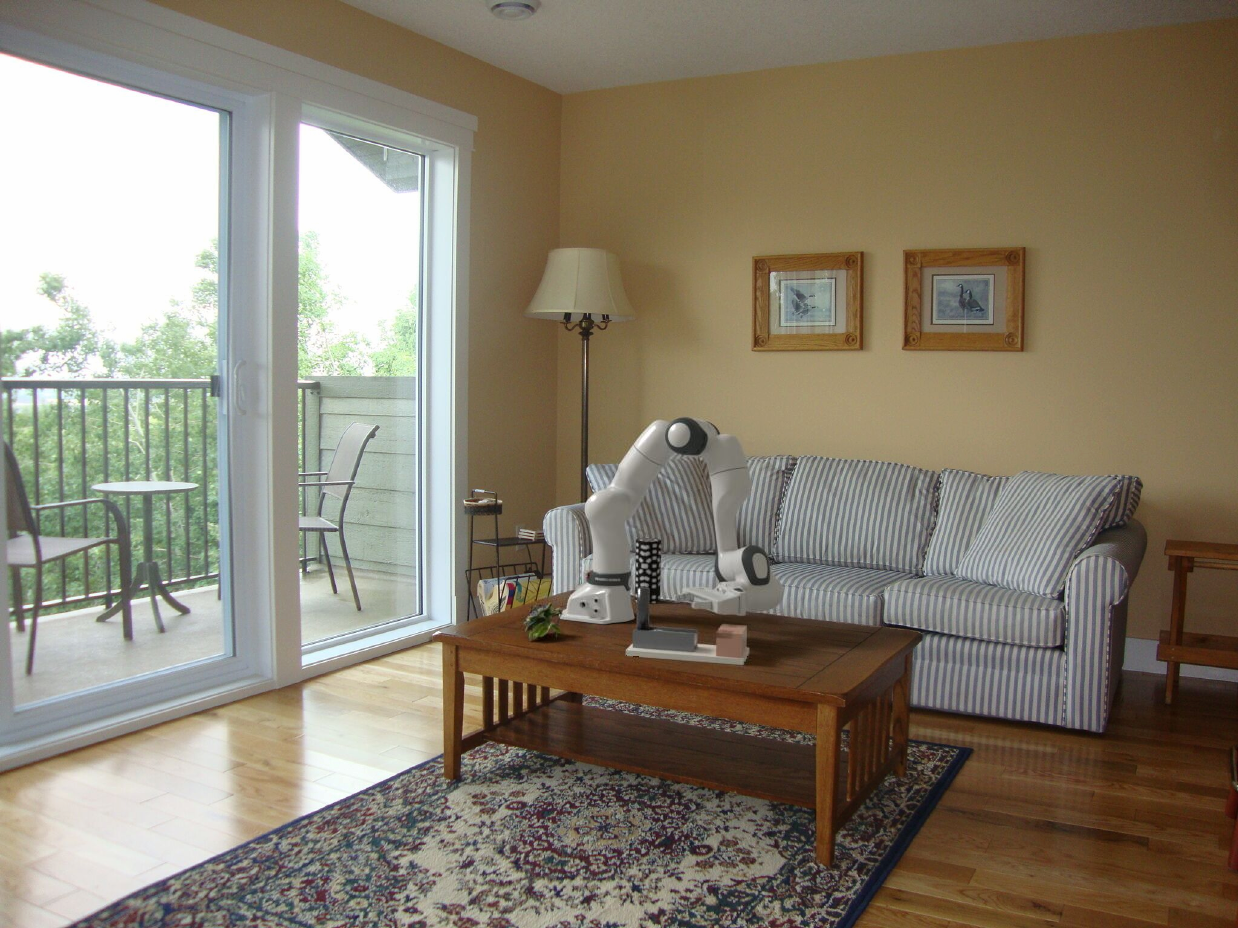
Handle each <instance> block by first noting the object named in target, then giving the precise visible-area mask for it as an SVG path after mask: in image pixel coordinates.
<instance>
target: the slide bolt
mask: <svg viewBox="0 0 1238 928" xmlns="http://www.w3.org/2000/svg"><path fill="white" fill-rule="evenodd" d="M649 593H650V588H647V587H639V588H637V602H636V629H638V630H649V626H650V604H649ZM652 631H658V630H652ZM666 632H672V631H666ZM680 633H686V632H680ZM694 634H695V643H694V646H696V643H697V633H694Z"/></svg>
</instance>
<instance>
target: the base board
mask: <svg viewBox="0 0 1238 928" xmlns="http://www.w3.org/2000/svg"><path fill="white" fill-rule="evenodd" d="M749 654H750V647H746V650H745V652H744V654H743V656H742V658H735V657H722V656H716V644H715V645H714V644H704V643H703V644H702V643H698V647H697V648H696V650H695V651H694V652H685V651H672V650H659V649H646V648H633V642H632V643H631V644H630V645H629V646H628V647H627V648H626V649H625V656H626V655H627V656H626V657H633V656H639V657H638V658H649V659H657V660H658V659H659V660H672V661H673V660H674V661H684V662H686V661H687V662H695V663H696V662H699V663H709V664H711V663H712V664H721V665H722V664H724V665H737V666H744V665H745V663H746V660H747V659H748V657H749ZM747 656H748V657H747ZM744 662H745V663H744Z"/></svg>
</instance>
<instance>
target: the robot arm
mask: <svg viewBox="0 0 1238 928" xmlns="http://www.w3.org/2000/svg"><path fill="white" fill-rule="evenodd" d="M674 454H678V455H681V456H685V457H688V458H689V457H690V458H701V459H704V461H705V463H706V465H707V469H708V470H707V471H708V475H709V479H710V485H711V495H712V499H711V500H712V501H711V519H712V527H713V537H714V544H715V546H714V547H715V560H714V567H713V568H714V575H715V577H716V579H717V581H719V583H718V584H717V585H716V587H714V588H710V587H708V586H688V587H683V588H682V590H681V593H679V594H674V596H673V601H674V602H677V603H683V602H686V603H689V604H691V609H694V610H699V609H700V610H707V611H710V612H713V613H714V614H718V615H724V616H728V615H730V616H732V615H734V616H738V617H744V616H746V613H747V612H749V613H759V612H766V611H770V610H773V609H775V608H777V607H778V606H779V605H780V604H781V602H782V600H783V595H784V589H783V584H782V582H780V580H779V579H778V578H776V576H775V574H774V571H773V570H772V568H771V562H770V557H769V555H768V554H767V551H765V550H764V548H762V547H761V546H758V545H755V544H753V545H747V546H744V547H740V548H738V540H737V539H738V538H737V532H736V525H735V523H736V516H737V513H738V511H739V510H740V508H741V507H742V505H743V503H745V501H746V500H747V499H748V498H749V496H750V493H751V491H752V479H751V473H750V469H749V466H748V465H749V464H748V462H747V458H746V455H745V452H744V449H743V448H742V445H741V442H740V440H739V439H738V437H737V436H735V435H733V434H731V433H721V432H720V430H719V428H718V427H717V426H716V425H715V424H713V423H712V422H709V421H706V420H704V419H701V418H697V417H696V418H692V417H687V416H684V417H677V418H675V419H674V420H672V421H671V422H669V421H667V420H663V419H657V420H655V421H652V423H650V425H648V426H647V427H646V429H644V431H643V432H641V434H640V435H639V436H638V437H637V439H636V440H635V442H634V443H633V444H632V446H631V447H630V449H629V450H628V451H627V453H626V454H625V456H624V457H623V458H622V460H621V461H620V463H619V465H618V468H617V471H616V473H615V475H614V477H613V479H612V481H611V483H610V484H609V485H608V486H607V487H606V488H604V489H600V490H596V491H595V492H594V493H592V494H591V495H590V497H589V498H588V499H587V500H586V502H585V504H584V515H585V517H586V519H587V520H588V523H589V530H590V534H591V540H592V568H591V569H588V570H589V571H588V573H587V574H586V577H585V578H586V581H587V583H586V584H584V585H583V586H582V587H580V588H579V589H578V590H576V589H575V590H574V592H573V593H571V594H570V596H569V598H568V600H567V603H566V608H565V609H562V611H563V612H562V615H561V617H560V620H566V621H572V622H573V621H574V622H582V623H590V624H599V625H608V624H613V623H624V622H629V621H632V620H634V619H635V614H634V610H633V606H632V605H633V603H632V596H631V590H632V571H631V543H630V542H629V540H628V536H627V529H626V522H627V521H629V520H630V519H631V518H632V517H634V515H635V514H636V512H637V511H638V508H639V507H640V505H641V503H642V501H643V500H644V498H645V496H646V494H647V492H648V490H649V488H650V487H651V485H652V483H653V482H654V481H655V479H656V478H657V477H658V476H659V474H660V473H661V471H662V470H663V468H664V467H665V466H666V464H667V463H668V461H669V460H670V459H671V458H672V456H674ZM559 616H560V614H559ZM559 616H558V617H559Z"/></svg>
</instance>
